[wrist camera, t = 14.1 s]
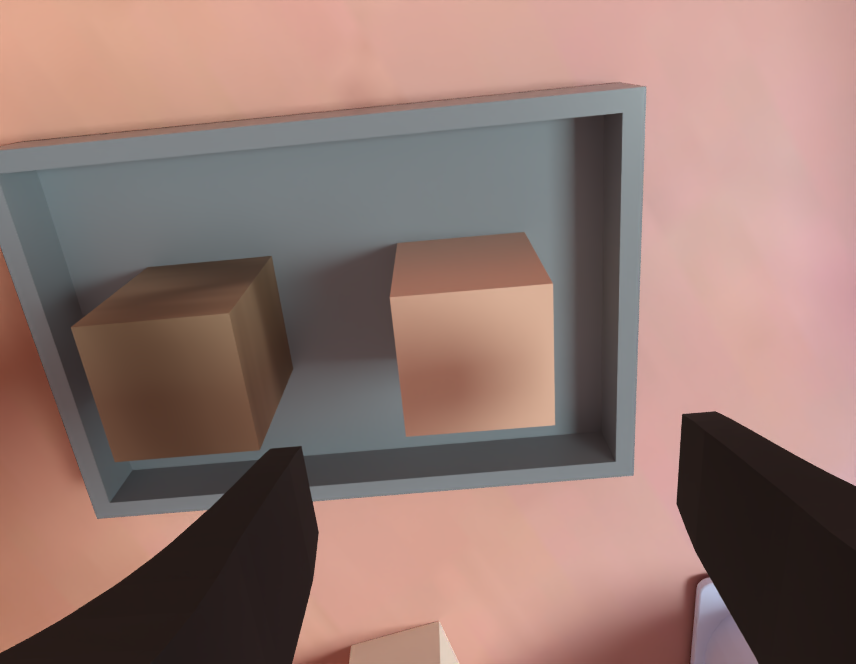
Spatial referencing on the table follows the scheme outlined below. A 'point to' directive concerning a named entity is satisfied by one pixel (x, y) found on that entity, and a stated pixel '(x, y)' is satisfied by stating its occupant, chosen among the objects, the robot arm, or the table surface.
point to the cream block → (406, 648)
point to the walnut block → (188, 359)
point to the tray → (347, 274)
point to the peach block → (473, 334)
